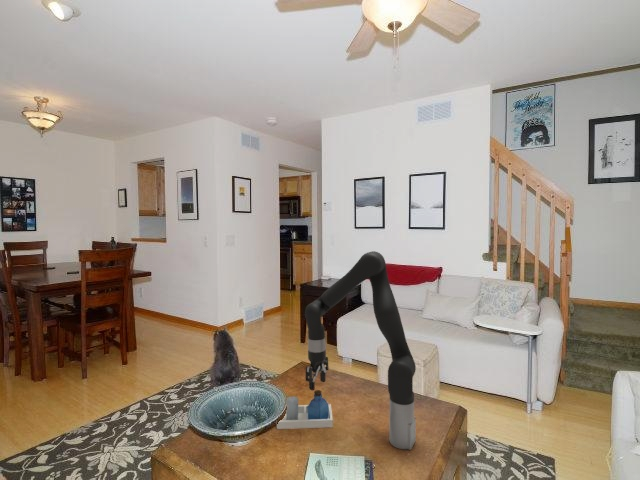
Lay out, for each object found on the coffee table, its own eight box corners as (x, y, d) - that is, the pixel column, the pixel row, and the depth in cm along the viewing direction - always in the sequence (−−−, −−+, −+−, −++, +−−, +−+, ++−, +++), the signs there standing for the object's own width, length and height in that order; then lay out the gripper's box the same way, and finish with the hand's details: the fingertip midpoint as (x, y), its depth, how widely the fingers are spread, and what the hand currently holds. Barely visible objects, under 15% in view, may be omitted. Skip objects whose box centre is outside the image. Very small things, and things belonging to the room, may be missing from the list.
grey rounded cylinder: (300, 418, 147) (300, 398, 147) (294, 424, 143) (294, 403, 142) (290, 415, 149) (290, 395, 149) (284, 421, 145) (284, 400, 144)
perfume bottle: (320, 425, 142) (319, 397, 141) (308, 420, 145) (307, 393, 145) (328, 417, 147) (327, 390, 146) (316, 413, 151) (316, 387, 150)
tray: (330, 412, 153) (330, 404, 152) (332, 429, 141) (332, 420, 140) (279, 414, 152) (279, 405, 151) (276, 431, 140) (276, 422, 139)
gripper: (314, 355, 136) (315, 395, 137) (332, 344, 148) (333, 380, 149) (299, 352, 140) (300, 390, 141) (318, 341, 152) (319, 376, 153)
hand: (317, 385), depth 145 cm, fingers open, 8 cm apart
